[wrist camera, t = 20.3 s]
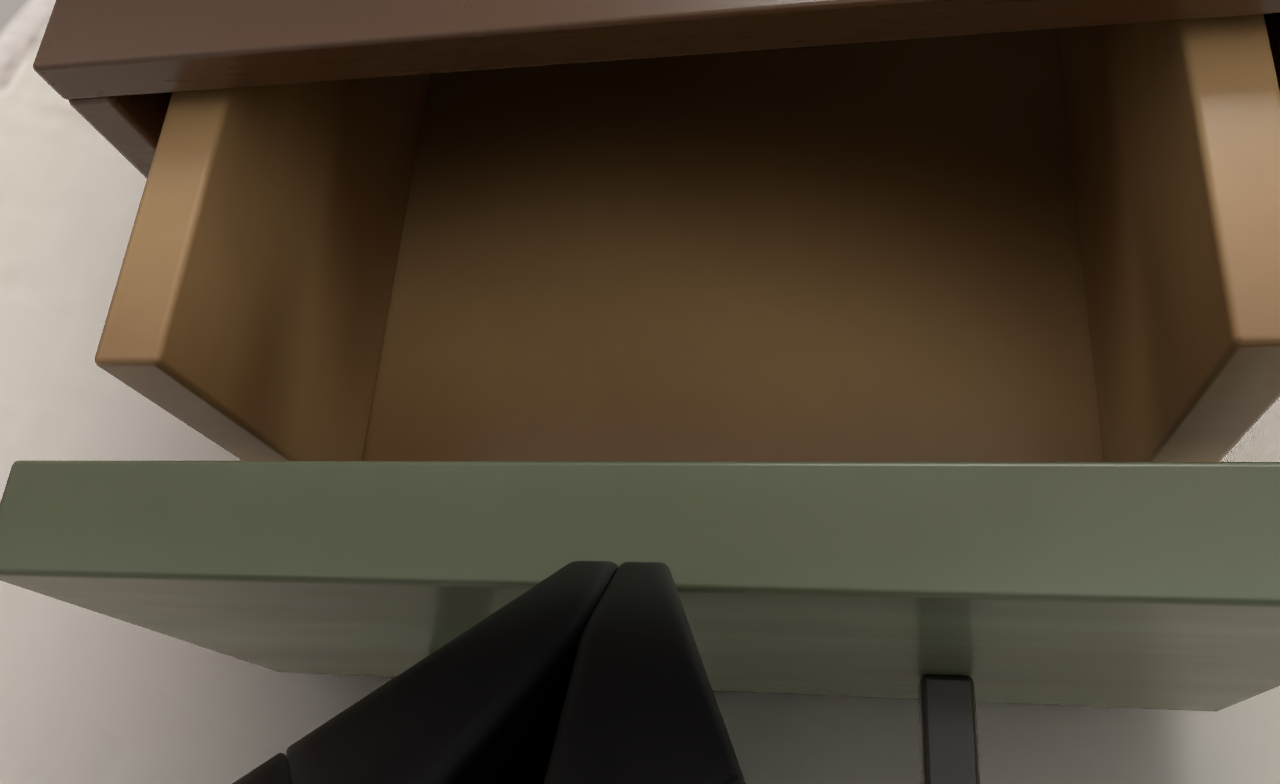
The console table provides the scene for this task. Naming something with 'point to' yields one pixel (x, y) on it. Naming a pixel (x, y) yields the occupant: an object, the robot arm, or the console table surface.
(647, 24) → the cabinet
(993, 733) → the console table surface
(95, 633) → the console table surface
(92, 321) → the console table surface
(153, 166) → the drawer
